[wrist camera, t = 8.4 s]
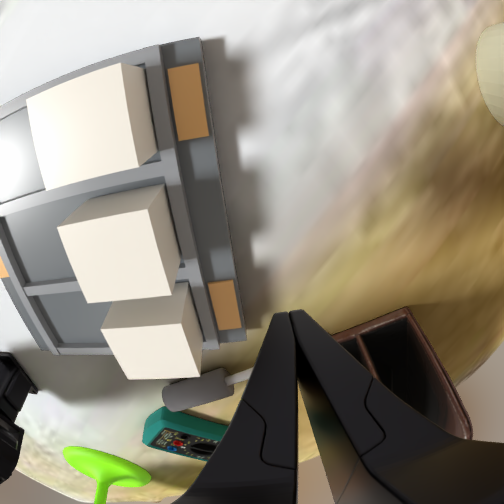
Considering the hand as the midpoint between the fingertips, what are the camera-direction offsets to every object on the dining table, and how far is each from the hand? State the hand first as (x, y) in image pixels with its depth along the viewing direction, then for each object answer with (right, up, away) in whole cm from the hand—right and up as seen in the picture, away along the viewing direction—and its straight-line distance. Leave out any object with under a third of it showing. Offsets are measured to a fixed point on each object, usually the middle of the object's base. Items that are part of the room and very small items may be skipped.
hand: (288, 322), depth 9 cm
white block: (-7, -2, +12) cm, 14 cm away
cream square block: (-9, +9, +6) cm, 14 cm away
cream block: (-8, +3, +9) cm, 12 cm away
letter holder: (+11, -12, +20) cm, 26 cm away
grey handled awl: (-3, -7, +15) cm, 17 cm away
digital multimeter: (-6, -19, +23) cm, 31 cm away
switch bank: (-12, +4, +10) cm, 16 cm away
